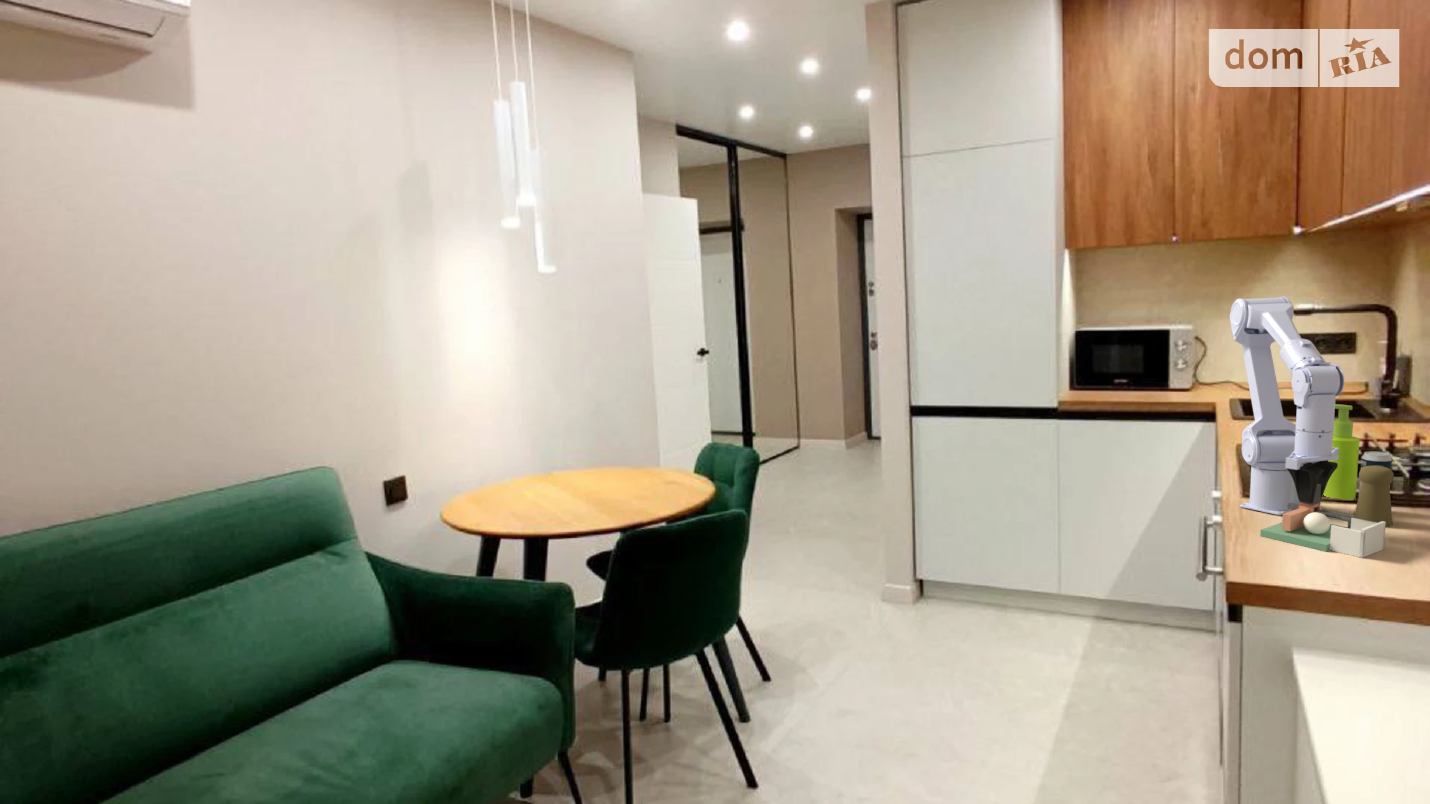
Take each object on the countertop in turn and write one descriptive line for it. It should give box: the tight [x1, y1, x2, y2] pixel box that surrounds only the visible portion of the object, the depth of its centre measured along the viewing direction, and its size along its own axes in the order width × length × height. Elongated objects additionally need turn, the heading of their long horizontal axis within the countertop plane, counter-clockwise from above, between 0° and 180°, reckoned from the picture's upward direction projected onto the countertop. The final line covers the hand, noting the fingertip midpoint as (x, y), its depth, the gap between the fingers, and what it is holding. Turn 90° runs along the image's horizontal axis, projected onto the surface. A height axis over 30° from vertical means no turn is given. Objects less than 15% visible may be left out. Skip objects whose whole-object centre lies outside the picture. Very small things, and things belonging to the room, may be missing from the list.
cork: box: [1353, 466, 1395, 528], centre depth 159 cm, size 6×6×11 cm
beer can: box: [1358, 450, 1393, 495], centre depth 165 cm, size 5×5×12 cm
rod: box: [1288, 503, 1357, 529], centre depth 155 cm, size 1×11×3 cm, turn 29°
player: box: [1281, 484, 1322, 531], centre depth 155 cm, size 9×2×7 cm, turn 119°
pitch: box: [1260, 521, 1348, 552], centre depth 154 cm, size 13×11×1 cm
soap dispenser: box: [1323, 403, 1361, 500], centre depth 175 cm, size 6×7×20 cm
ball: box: [1303, 512, 1331, 534], centre depth 152 cm, size 4×4×4 cm
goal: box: [1329, 518, 1386, 559], centre depth 146 cm, size 7×5×5 cm
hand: (1309, 500), depth 157 cm, fingers closed
